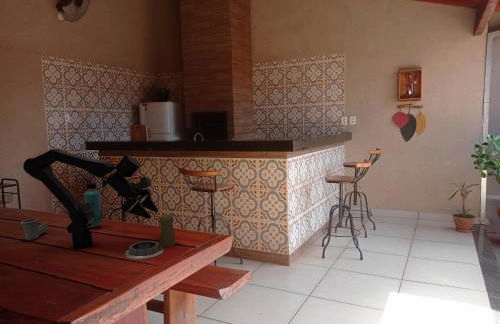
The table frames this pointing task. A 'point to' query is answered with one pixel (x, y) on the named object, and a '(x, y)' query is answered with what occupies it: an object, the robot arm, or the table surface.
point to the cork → (167, 231)
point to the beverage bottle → (94, 202)
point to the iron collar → (144, 250)
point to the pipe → (33, 228)
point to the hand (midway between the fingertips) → (154, 214)
